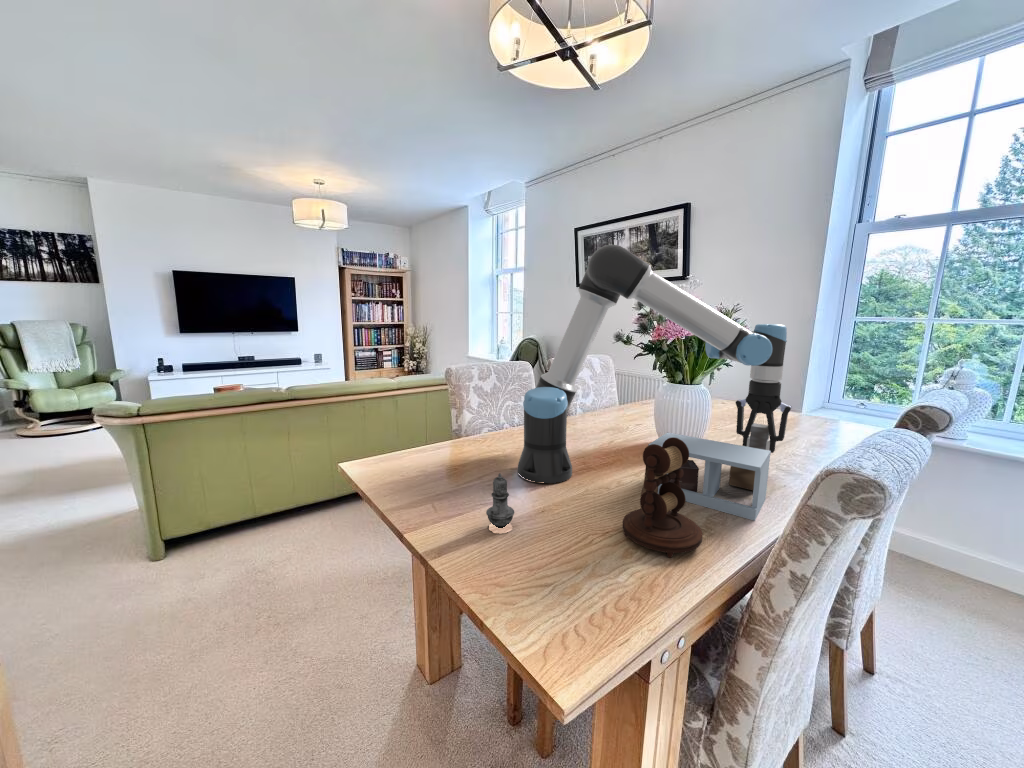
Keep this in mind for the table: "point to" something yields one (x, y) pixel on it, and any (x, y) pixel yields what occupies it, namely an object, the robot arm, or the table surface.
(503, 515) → the salt shaker
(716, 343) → the robot arm
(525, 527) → the table surface
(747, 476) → the walnut block
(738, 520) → the table surface
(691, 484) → the box
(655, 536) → the thread spool stand
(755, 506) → the shelf
